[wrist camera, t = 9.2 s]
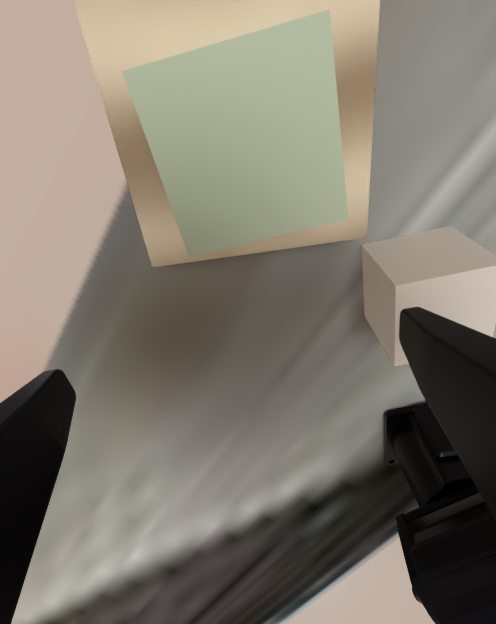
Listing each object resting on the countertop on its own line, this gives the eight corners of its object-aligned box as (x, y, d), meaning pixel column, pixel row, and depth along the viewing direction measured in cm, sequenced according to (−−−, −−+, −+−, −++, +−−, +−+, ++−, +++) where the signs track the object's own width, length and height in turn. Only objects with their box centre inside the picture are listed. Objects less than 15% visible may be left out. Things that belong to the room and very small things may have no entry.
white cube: (442, 299, 23) (490, 348, 19) (364, 315, 24) (394, 366, 19) (449, 225, 21) (507, 262, 16) (361, 244, 21) (395, 285, 17)
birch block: (343, 210, 20) (366, 237, 17) (164, 235, 20) (152, 267, 17) (347, -33, 15) (383, -66, 11) (103, 5, 15) (68, -16, 12)
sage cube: (314, 178, 15) (348, 218, 11) (199, 207, 16) (189, 257, 11) (294, 30, 12) (329, 9, 8) (156, 71, 13) (121, 71, 9)
